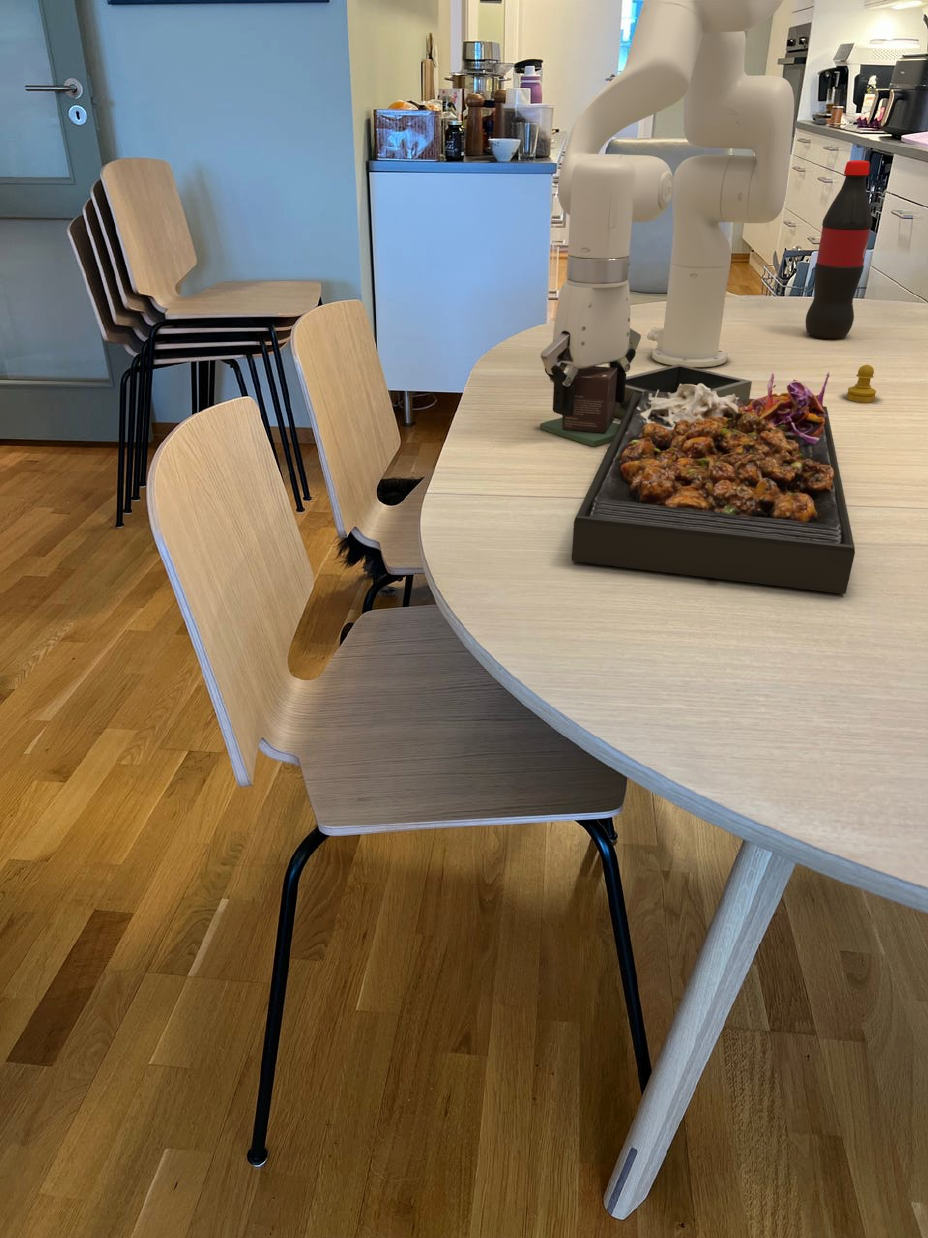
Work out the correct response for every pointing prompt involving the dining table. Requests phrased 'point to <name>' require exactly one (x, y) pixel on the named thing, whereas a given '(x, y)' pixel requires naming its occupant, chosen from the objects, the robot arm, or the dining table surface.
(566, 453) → the dining table surface
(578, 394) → the box
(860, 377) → the chess piece
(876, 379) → the dining table surface
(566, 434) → the mat
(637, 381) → the dark grey tray
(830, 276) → the cola bottle
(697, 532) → the food platter
